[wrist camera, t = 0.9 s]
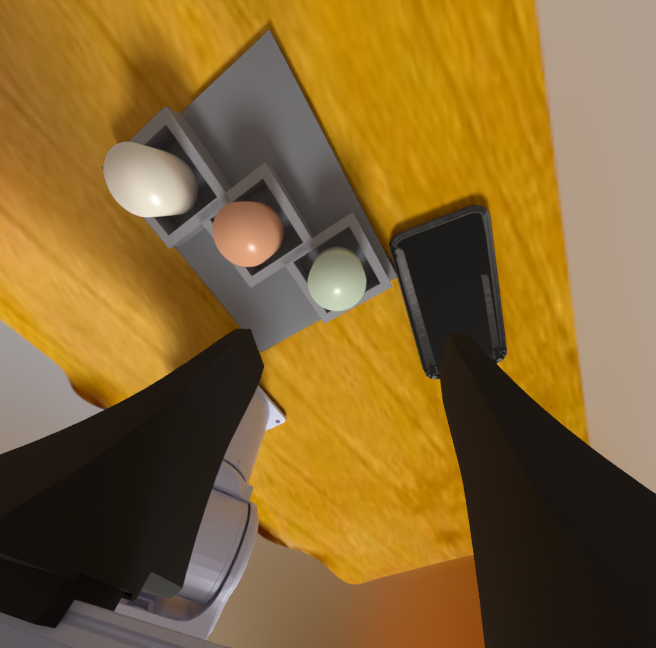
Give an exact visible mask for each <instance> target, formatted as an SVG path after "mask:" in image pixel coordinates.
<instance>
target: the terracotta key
mask: <svg viewBox="0 0 656 648" xmlns="http://www.w3.org/2000/svg"><path fill="white" fill-rule="evenodd" d="M212 229H213V238H214V241H215V244H216V246H217V248H218V250H219V251H220V253H221V254H222V255H223V256H224V257H225V258H226V259H227V260H229V261H230V262H232V263H234V264H236V265H239V266H243V267H253V266H257V265H259V264H261V263H263V262H264V261H265V260H267V259H268V258H269V257H270V256H272V255H273V254H274V253H276V252H277V251H278V250H279V248H280V247H281V245H282V243H283V240H284V225H283V222H282V220H281V218H280V216H279V214H278V213H277V212H276V211H275V210H274V209H273V208H272V207H270V206H269V205H267V204H265V203H262V202H232V203H229V204H227V205H225V206H224V207H222V208H221V209H220V210H219V211H218V213H217V214H216V216H215V219H214V222H213V228H212Z"/></svg>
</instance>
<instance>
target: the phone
mask: <svg viewBox="0 0 656 648" xmlns="http://www.w3.org/2000/svg"><path fill="white" fill-rule="evenodd" d="M389 248H390V253H391V257H392V260H393V264H394V267H395V271H396V274H397V276H398V277H397V278H398V282H399V285H400V289H401V292H402V296H403V300H404V303H405V307H406V310H407V314H408V317H409V321H410V324H411V328H412V332H413V335H414V339H415V342H416V346H417V349H418V353H419V356H420V360H421V364H422V367H423V370H424V372H425V374H426V376H428V377H429V378H431V379H440V371H441V365H442V360H443V355H444V349H445V344H446V338H447V333H448V332H451V333H468V334H469V335H470V336H471V337H472V338H473V339H474V340H475V341H476V342H477V343H478V345H479V346H480V347H481V348H482V349H483V350H484V351H485V352H486V353H487V354H488V355H489V356H490V357H491V359H492V360H493V361H494V362H495V363H498V362H500V361H502V360H503V359H504V358H505V356H506V354H507V347H506V339H505V331H504V323H503V315H502V307H501V299H500V291H499V283H498V275H497V267H496V259H495V251H494V243H493V235H492V227H491V218H490V214H489V211H488V210H487V209H486V208H485V207H483V206H477V205H472V206H468V207H465V208H462V210H461V209H460V210H457V211H455V212H452V213H449V214H447V215H444V216H441V217H439V218H436V219H433V220H431V221H428V222H426V223H423V224H420V225H418V226H415V227H412V228H410V229H407V230H404V231H402V232H399V233H398V234H396V235H395V236H394V237H393V238H392V240H391V242H390V246H389Z"/></svg>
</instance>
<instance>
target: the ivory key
mask: <svg viewBox="0 0 656 648" xmlns="http://www.w3.org/2000/svg"><path fill="white" fill-rule="evenodd" d="M103 169H104V177H105V181H106V184H107V187H108V189H109V191H110V193H111V194H112V196H113V197H114V199H115V200H116V201H117V202H118V203H119V204H120V205H121V206H122V207H123V208H124V209H126V210H127V211H129V212H130V213H132V214H134V215H137V216H140V217H159V216H170V215H181V214H184V213H187V212H188V211H190V210H191V209H192V208H193V206H194V205H195V203H196V200H197V196H198V186H197V181H196V178H195V176H194V174H193V172H192V170H191V168H190V167H189V166H188V164H187V163H186V162H185V161H184V160H182V159H181V158H180V157H178V156H177V155H175V154H172V153H169V152H166V151H162V150H159V149H155V148H152V147H148V146H145V145H141V144H138V143H134V142H121V143H118V144H116V145H114V146H113V147H112V148H111V149H110V150H109V151H108V153H107V154H106V157H105V160H104V167H103Z"/></svg>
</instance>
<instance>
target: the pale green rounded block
mask: <svg viewBox="0 0 656 648" xmlns="http://www.w3.org/2000/svg"><path fill="white" fill-rule="evenodd" d="M308 289H309V292H310V295H311V297H312V298H313V300H314V301H315V302H316V303H317V304H318V305H320V306H321V307H323V308H325V309H328V310H332V311H342V310H346V309H349V308H351V307H353V306H354V305H356V304H357V303H358V302H359V301H360V299H361V298H362V296H363V295H364V292H365V289H366V276H365V273H364V270H363V267H362V264H361V261H360V259H359V257H358V256H357V255H356V254H355V253H354V252H353V251H352V250H350V249H348V248H346V247H342V246H333V247H330V248H327V249H325V250H323V251H322V252H321V253H320V254H319V255H318V256H317V257H316V259H315V261H314V263H313V266H312V268H311V270H310V273H309V276H308Z"/></svg>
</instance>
